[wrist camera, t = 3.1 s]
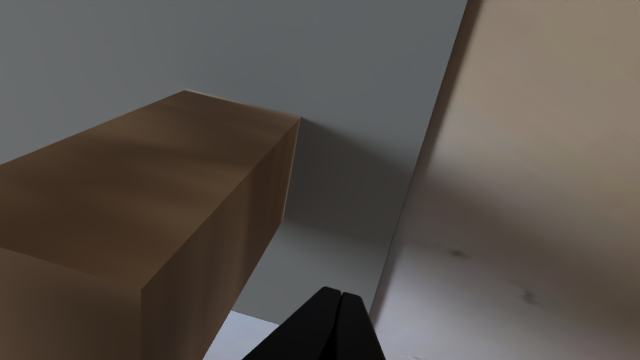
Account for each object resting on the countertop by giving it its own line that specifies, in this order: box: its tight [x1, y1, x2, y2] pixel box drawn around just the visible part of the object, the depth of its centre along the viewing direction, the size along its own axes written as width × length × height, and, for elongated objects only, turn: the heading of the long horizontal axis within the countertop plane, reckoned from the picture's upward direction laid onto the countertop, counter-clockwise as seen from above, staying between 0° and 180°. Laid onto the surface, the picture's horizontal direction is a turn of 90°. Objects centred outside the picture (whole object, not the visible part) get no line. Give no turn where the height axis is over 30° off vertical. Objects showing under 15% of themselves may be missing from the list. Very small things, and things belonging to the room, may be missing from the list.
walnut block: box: [0, 89, 301, 360], centre depth 11 cm, size 4×4×9 cm
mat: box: [0, 0, 468, 325], centre depth 15 cm, size 18×14×1 cm
